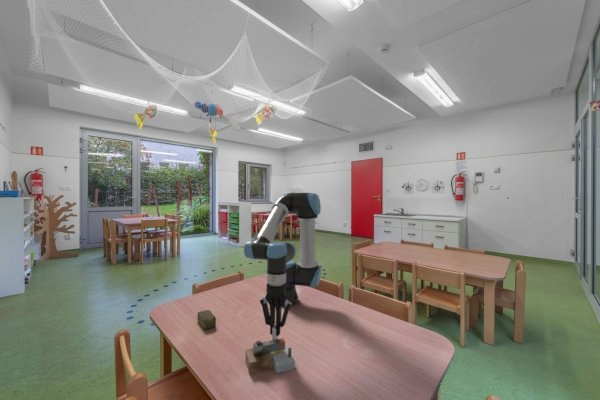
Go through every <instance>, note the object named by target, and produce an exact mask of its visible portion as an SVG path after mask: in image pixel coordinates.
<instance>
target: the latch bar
mask: <svg viewBox="0 0 600 400" xmlns="http://www.w3.org/2000/svg"><path fill="white" fill-rule="evenodd" d="M285 344H286V341H285V339H284V337H282V338H281V337H280V338H278V339H277V340H272V339H271V340H268V341H260V340H256V342H254V343H253V346H252V348H253V354H254V355H255V356H260V355H262V354H265V353H270V352H275V351H281V350H285Z"/></svg>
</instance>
